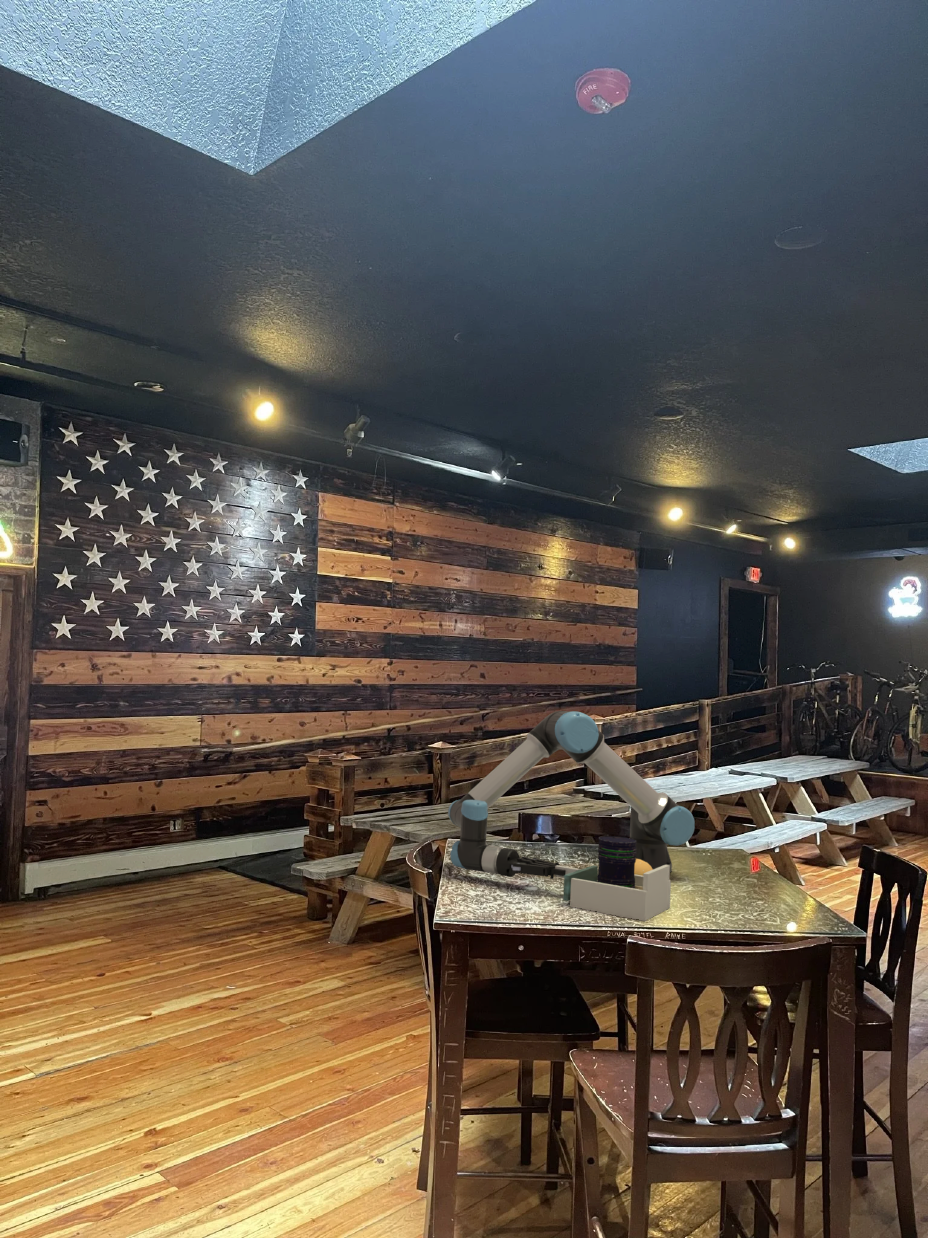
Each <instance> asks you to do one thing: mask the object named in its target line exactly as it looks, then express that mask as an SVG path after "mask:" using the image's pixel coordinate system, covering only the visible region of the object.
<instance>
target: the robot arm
mask: <svg viewBox="0 0 928 1238" xmlns="http://www.w3.org/2000/svg"><path fill="white" fill-rule="evenodd" d="M559 750H563V751H564V752H565V753H566V754H567V755H568V756H569V757H570V758H571V759H572V760H573V761H574V762H575V763H577V764H585V765H586V766H587V768H589V769H591V771H592V772H594V774H596V775H597V776H598V778H600V780H602V781H603V782H604V783H605V784H606V785H608V786H609V787H610V789H612V790H613V791H614V792H615V793H616V795H618V796H619V797H620V798H621V799H622V800H624V802H626V803H627V804H628V805H629V807H630V819H629V821H630V825H629V838H632V839H635V840H636V859H640V860H643V861H645V862H647V863H648V864H649V865H650V866H651V867H652V869H656V868H658V867H661V866H663V865H670V873H671V872H673V864H672V860H671V856H670V852H669V849H668V845H669V846H680V845H684V844H686V843H688V842H689V840H690V839H691V838H692V836H693V834H694V832H695V824H696V823H695V818H694V816H693V814H692V812H691V811H690V810H689V809H688V808H686V807H684V806H681V805H679V804H677V803H676V802H675V801H674V800H673V798H671V797H670V796H669V795H668V794H667V793H666V792H657V790H656V789H654V788H653V787H652V786H651V785H650V784H649V783H648V782H647V781H646V780H645V779H644V778H643V777H641V775H639V773H637V772H636V770H634V769H633V768H632V767H631V766H630V765H629V764H628V763H627V762H626V761H625V760H624V759H622V757H620V756H619V755H618V754H617V753H616V751H614V750H613V749H612V748H611V747H610V746H609V745H608V744H607V743H606V742H605V735H604V734H603V733H602V732H601V730H600V729H599V728H598V726H597V723H596V722H595V720H594V719H593V718H592V717H591V716H589V714H586V713H583V712H580V711H566V710H558V711H557V710H556V711H553V712H552V713H550V714H548V715H547V716H545V717H544V719H542V720H541V721H540V722H539V723H538V724H537V725H536V726H535V727H534V728H532V730H530V731H529V732H528V733H527V735H526V739H525V740H524V741H523V742H522V743H521V744H520V745H519V746H517V748H515V749H514V750H513V751H512V752H511V753H510V754H509V755H508V756H506V758H505V759H503V760H502V762H500V763H499V764H498V765H497V766H496V767H495V768H494V769H493V770H492V771H490V773H488V774H487V775H486V776H485V777H484V778H482V780H480V782H479V783H477V784H476V785H475V786H474V787H473V788H472V789H471V790H469V792H468V793H466V794H465V795H464V796H463V797H462V798H461V799H458V800H457V799H456V800H455V801H453V802H452V803H450V805H449V806H448V810H447V816H448V817H449V820H450V821H451V822H452V824H453V825H455V826H456V827H459V828H460V837H459V840H456V841H455V842H454V843H453V844H452V846H451V850H450V856H449V857H450V861H451V863H452V864H453V866H455V867H457V868H461V869H464V870H467V871H468V870H469V871H475V872H483V873H487V874H488V873H489V874H490V876H494V875H497V876H498V875H500V876H502V877H508V878H512V877H514V876H515V875H516V874H523V875H529V876H530V875H532V876H539V877H546V878H548V877H550V879H551V880H554V878H555V877H557V878H563V879H564V875H566V874H569V873H572V872H575V871H578V870H580V868H576V867H569V866H566V865H565V866H564V865H560V863H559V862H558V861H557V862H553V861H547V860H544V859H540V858H537V857H532V858H529V857H528V856H520V854H519V852H518V851H517V850H516V849H513V848H508V847H503V846H502V847H501V846H497V845H496V846H495V845H489V844H488V845H487V831H488V816H489V811H488V809H489V808H490V807H491V806H492V805H494V804H495V802H497V801H498V800H499V799H500V798H501V797H502V796H504V794H505V793H506V792H507V791H509V790H510V789H511V788H512V787H513V786H514V785H515V784H516V783H517V782H518V781H519V780H520V779H522V778H523V777H524V776H525V775H526V774H527V773H528V772H529V771H530V770H531V769H532V768H534V767H535V766H536V765H537V764H538V763H539V762H540V761H541V760H542V759H544V758H547V759H549V757H550V756H552V755H553V754H554V753H556V752H557V751H559Z"/></svg>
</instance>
